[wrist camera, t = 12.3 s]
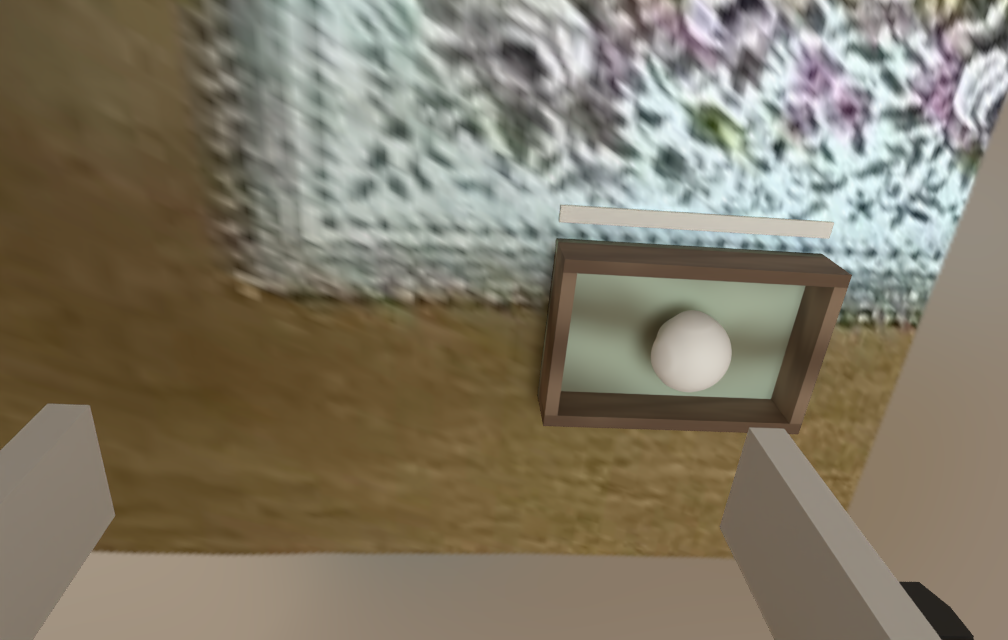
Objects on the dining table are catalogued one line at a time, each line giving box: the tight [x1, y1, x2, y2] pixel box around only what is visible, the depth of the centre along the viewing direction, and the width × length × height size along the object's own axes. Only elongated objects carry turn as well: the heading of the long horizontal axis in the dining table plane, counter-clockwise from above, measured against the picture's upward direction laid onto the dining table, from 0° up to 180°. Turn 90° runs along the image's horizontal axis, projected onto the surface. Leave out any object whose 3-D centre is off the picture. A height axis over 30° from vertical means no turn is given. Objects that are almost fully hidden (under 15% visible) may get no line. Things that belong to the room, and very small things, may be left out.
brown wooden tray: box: [537, 238, 852, 434], centre depth 41 cm, size 11×17×4 cm, turn 85°
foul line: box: [559, 205, 834, 239], centre depth 40 cm, size 1×17×1 cm, turn 85°
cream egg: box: [651, 310, 732, 392], centre depth 40 cm, size 5×5×5 cm
